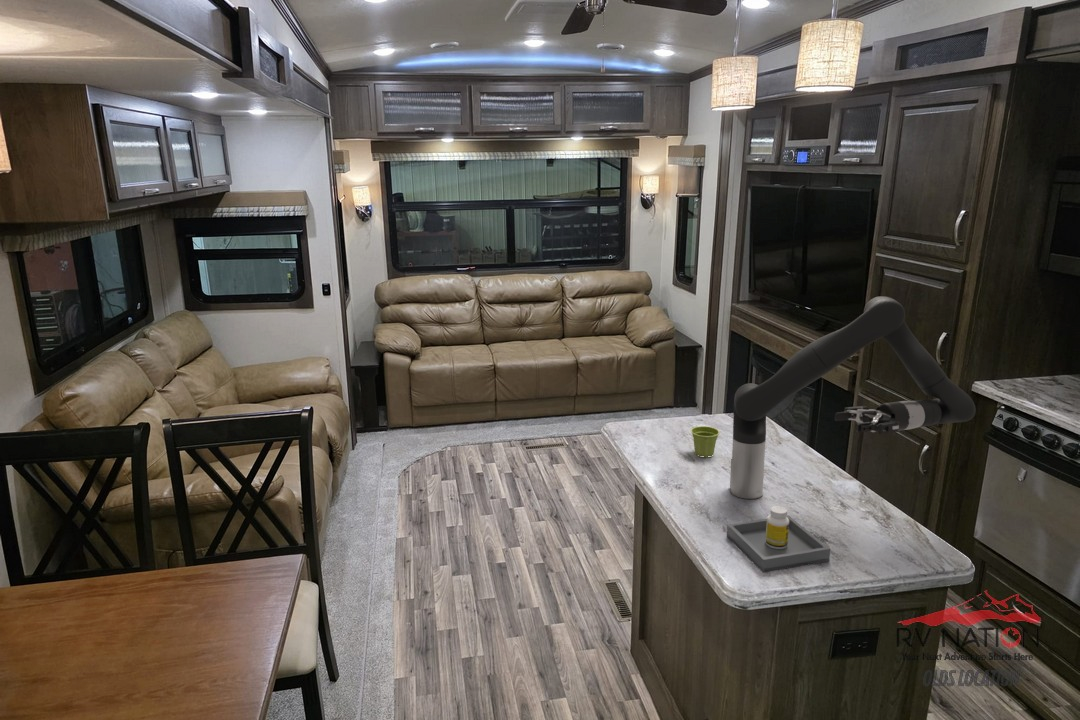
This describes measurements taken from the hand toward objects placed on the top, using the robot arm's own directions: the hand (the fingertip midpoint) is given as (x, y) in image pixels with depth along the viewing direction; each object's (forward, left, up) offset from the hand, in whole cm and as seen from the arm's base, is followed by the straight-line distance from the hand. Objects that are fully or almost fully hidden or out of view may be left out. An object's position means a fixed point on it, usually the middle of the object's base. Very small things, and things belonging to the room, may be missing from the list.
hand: (845, 422), depth 179 cm
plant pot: (-56, -11, -30) cm, 65 cm away
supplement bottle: (+5, -21, -29) cm, 36 cm away
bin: (+5, -21, -30) cm, 37 cm away
